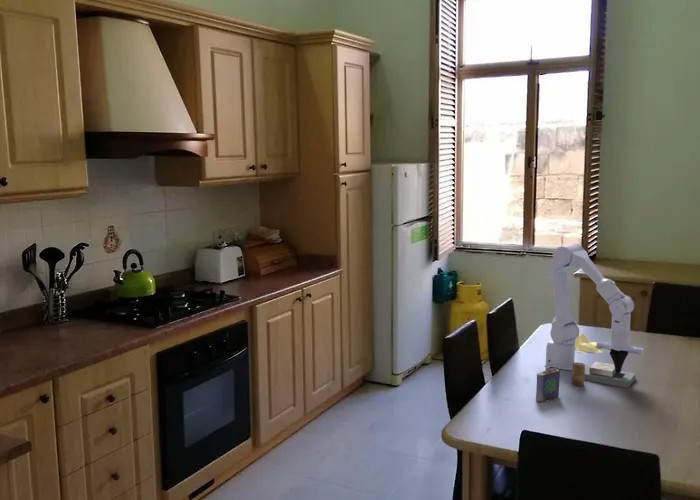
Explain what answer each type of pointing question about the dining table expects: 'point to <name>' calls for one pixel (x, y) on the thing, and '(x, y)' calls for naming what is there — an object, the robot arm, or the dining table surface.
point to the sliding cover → (602, 369)
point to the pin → (578, 374)
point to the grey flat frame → (611, 378)
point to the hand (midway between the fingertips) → (618, 371)
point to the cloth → (585, 345)
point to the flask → (547, 384)
